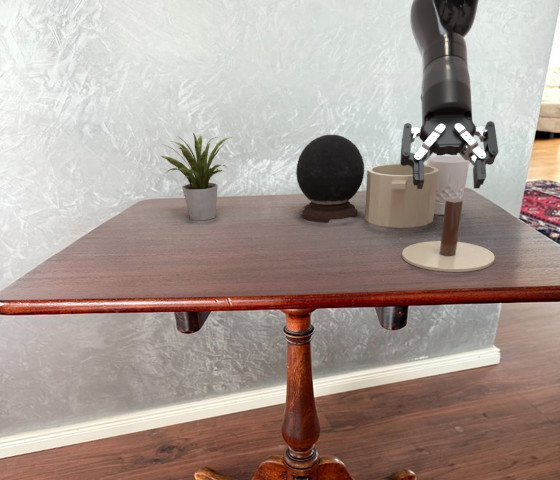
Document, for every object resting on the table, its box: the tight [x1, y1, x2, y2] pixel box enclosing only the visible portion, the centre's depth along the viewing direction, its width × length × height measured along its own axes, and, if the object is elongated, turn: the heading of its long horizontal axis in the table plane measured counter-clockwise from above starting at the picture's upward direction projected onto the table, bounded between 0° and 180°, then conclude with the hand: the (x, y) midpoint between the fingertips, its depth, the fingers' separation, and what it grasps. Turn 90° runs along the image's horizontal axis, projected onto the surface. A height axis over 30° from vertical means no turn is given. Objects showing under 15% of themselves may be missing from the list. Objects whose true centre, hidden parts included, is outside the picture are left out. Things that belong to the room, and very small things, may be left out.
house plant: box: [160, 132, 233, 222], centre depth 108 cm, size 14×14×16 cm
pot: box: [364, 163, 438, 229], centre depth 101 cm, size 13×18×10 cm
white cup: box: [426, 155, 471, 216], centre depth 107 cm, size 8×8×10 cm
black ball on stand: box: [296, 134, 365, 223], centre depth 106 cm, size 13×13×15 cm
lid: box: [401, 199, 496, 273], centre depth 81 cm, size 14×14×9 cm
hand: (449, 185), depth 82 cm, fingers open, 8 cm apart
